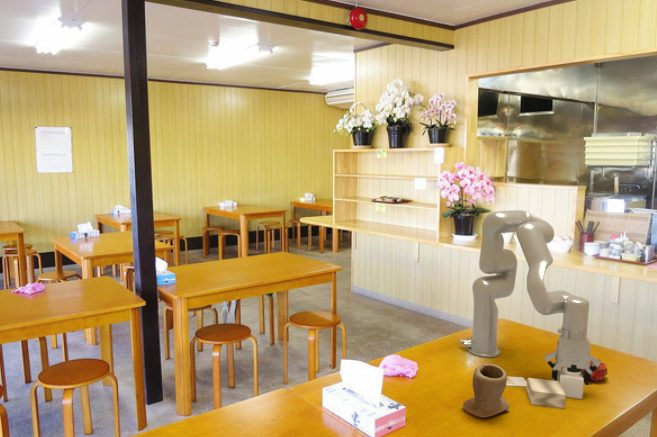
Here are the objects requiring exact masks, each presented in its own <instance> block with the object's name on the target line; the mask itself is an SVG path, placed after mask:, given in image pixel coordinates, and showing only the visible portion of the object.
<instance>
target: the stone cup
mask: <svg viewBox="0 0 657 437" xmlns="http://www.w3.org/2000/svg"><path fill="white" fill-rule="evenodd" d="M507 377H508V376H507V373H506V371H505V370H504V368H502V367H501V366H499V365H497V364H494V363H483V364H480V365H479V366H477V367H476V368H475V370H474V371H473V376H472V390H473V395H474V397H472V398H468V399H467V400H465V401H463V402H462V408H464V410H465V411H467V412H468V413H470V414H472V415H473V416H476V417H477V418H478V417H479V418H488V417H492V416H495V415H498V414H499V413H502V412H505V411H506V410H508V409H510V408H511V405H510V404H509V403H508V401H507V400H506V398H504V396H503V394H504V391H505V389H506V387H507V386H506V383H507Z"/></svg>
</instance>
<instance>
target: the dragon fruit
mask: <svg viewBox="0 0 657 437" xmlns="http://www.w3.org/2000/svg"><path fill="white" fill-rule="evenodd" d="M597 359H598V358H597ZM598 360H599V361H600V362H601V363H600V365H599V366H598V367H597V369H596V370H595V371H593V372H592V374H591V376H590V381H593V382H595V383H598V382H599V381H600V382H601V381H603V379H604V378H605V377H606V376H607V375H608V368H607V365H606V364H605V363H604V362H603V363H602V360H600V358H599V359H598ZM593 364H594V362H593V361H591V360H590V366H591V365H593ZM585 370H586V369H581V373H582V376H583V379H584V371H585Z"/></svg>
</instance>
